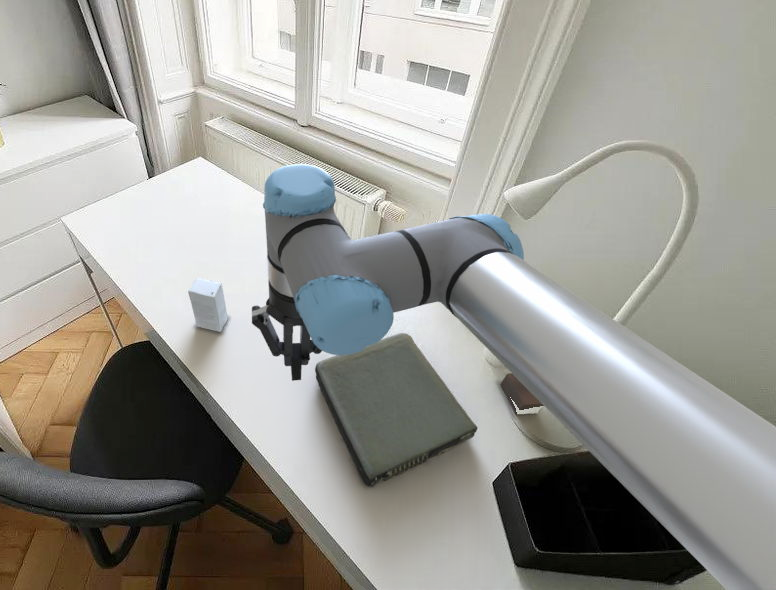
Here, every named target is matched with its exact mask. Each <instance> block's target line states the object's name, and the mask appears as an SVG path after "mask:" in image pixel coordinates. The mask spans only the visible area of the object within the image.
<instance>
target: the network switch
mask: <svg viewBox="0 0 776 590" xmlns="http://www.w3.org/2000/svg"><path fill="white" fill-rule="evenodd" d="M314 372H315V380H316V381H317V383H318V387H319V389H320V391H321V393H322V396H323V397H324V400H325V402H326V404H327V406H328V409H329V411H330V413H331V415H332V418H333V420H334V423H335V424H336V426H337V429H338V431H339V433H340V435H341V437H342V440H343V442H344V443H345V445H346V448H347V450H348V452H349V454H350V457H351V458H352V461H353V463H354V465H355V467H356V468H357V471H358V474H359V476H360V478H361V480H362V481H363V482H364V485H366V486H367V488H371V487H374V486H376V485H377V484H379V483H382V482H386V481H388V480H391V479H393V478H394V477H397V476H399V475H403V474H404V473H405V472H407V471H410V470H411V469H413V468H414V469H415V467H417V466H421V465H422V464H423V463H426V462H427V461H428V459H431V458H432V457H436V456H438V455H442V454H444V453H445V452H446V451H449V450H452V449H453V448H454V447H457V446H459V445H460V444H462V443H464V442H467V441H468V440H469V441H470V440H471V439H472V438H474V436H476V435H475V433H476V432H477V430H478V426H477V425H476V424H475V422H474V421H473V420H472V419H471V417H470V416H469V415H468V414H467V412H466V411H465V409H464V408H463V407H462V405H461V403H459V401H458V400H457V398H456V397H455V396H454V395H453V393H452V391H451V390H450V388H449V387H448V385H446V383H445V382H444V380H443V379H442V378H441V376H440V375H439V374H438V372H437V371H436V370H435V368H434V366H432V365H431V363H430V361H429V360H428V359H427V357H426V356H425V355H424V353H423V352H422V350H421V349H420V348H419V347H418V345H417V343H415V341H414V339H413V337H412V336H411V335H410V334H408V333H405V332H399V333H396V334H393V335H390V336H388V337H385V338H382V339H381V340H380V341H378V342H377V343H376V344H373V345H368V346H367V347H365V348H364V349H363V351H360V352H357V353H353V354H348V355H333V356H331V357H328V358H324V359H323V360H320V361H318V362H317V363H316V364H315V368H314Z"/></svg>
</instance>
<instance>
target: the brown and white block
mask: <svg viewBox="0 0 776 590" xmlns="http://www.w3.org/2000/svg"><path fill="white" fill-rule="evenodd" d="M500 386H501V388H502V391H503V392H504V394H505V396H506V398H507V400H508V403H509V404H510V406H511V408H512V410H513V412H514V414H515V416H518V415H517V412H516V408H515V406H514V404H513V402H512V400H513V401H514V402H515V404H516V405H517V407H518V408H519V410H524V409H529V408H533V407H540V406H544V405H543V404H542V403H541V402H540V401H539V400H538V399H537V398H536V397H535V396H534V395H533V394H532V393H531V392H530V391H529V390H528V389H527V388H526V387H525V386H524V385H523V384H522V383H521V382H520V381H519V380H518V379H517V378H516V377H515V376H514V375H513V374H512V373H511V372H508V373H506V374H505V376H504V378H503V379H502V381H501V383H500ZM510 397H511V398H510ZM511 399H512V400H511ZM544 407H545V406H544Z"/></svg>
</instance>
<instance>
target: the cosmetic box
mask: <svg viewBox="0 0 776 590" xmlns="http://www.w3.org/2000/svg"><path fill="white" fill-rule="evenodd" d="M187 293H188V297H189V300H190V304H191V309H192V313H193V316H194V320H195V324H196V327H198V328H202V329H207V330H209V331H214V332H219V333H222V331H223V329H224V327H225V325H226V322H227V320H228V318H229V317H228V310H227V306H226V300H225V299H226V298H225V295H224V293H225V292H224V289H223V283H222V282H221V281H214V280H210V279H205V278H201V277H195V280H194V281H193V283H192V284H191V286H190V287H189V289H188V290H187Z"/></svg>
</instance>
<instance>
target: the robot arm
mask: <svg viewBox="0 0 776 590" xmlns="http://www.w3.org/2000/svg"><path fill="white" fill-rule="evenodd" d="M335 188H336V186H335V182H334V179H333V177H332V176H331V175H330V174H329V172H327V171H326V170H325V169H323V168H321V167H319V166H316V165H313V164H307V163H295V164H291V165H284V166H281V167H279V168H277V169H275V170H273V172H271V173H270V174H269V175H268V177H267V178H266V180H265V183H264V197H263V203H262V208H263V209H264V218H265V220H264V221H265V238H266V264H267V265H266V266H267V277H268V280H267V281H268V298H267V300H266V302H265V305H264V306H262V307H261V306H259V305H253V306H251V324H252V325H253V326H254V327H255V328H257V329H258V330H259V331H260V333H261V335H262V337H263V339H264V341H265V343H266V345H267V347H268V349H269V350H270V353H271V355H272V356H273V357H280V356H281V355H282V356H283V363H284V366H285V367H290V372H291V373H290V374H291V381H292V382H293V381H302V368H303V367H302V366H308V365H309V362H310V361H311V357H310V356H311V355H310V354H311V353H313V354H314V355H315V354H316V355H320V354H321V353H322V352H324V353H326V354H329V355H333V356H336V355H348V354H353V353H357V352H360V351H363V349H364V348H365V347H367V346H368V345H373V344H376V343H377V342H378V341H380V340H382V339H384V337H385V336H386V335H387V334H388V333H389V331H390V330H391V328H392V327H393V323H394V319H395V317H394V313H398V312H402V311H406V310H409V309H414V308H417V307H421V306H424V305H429V304H433V303H440V304H442V305H443V306H444V307H445V308H446V309H447V310H448V311H449V312H450V313H451V314H452V315H453V316H454V317H455V318H456V319H457V320H458V321H460V323H461V324H463V326H465V328H466V329H467V330H468V331H469V332H470V333H471V334H472V335H473V336H474V337H475V338H476V339H477V340H478V341H479V342H480V343H481V344H482V345H483V346H484V347H485V348H486V349H487V350H488V351H489V352H490V353H491V354H492V355H493V356H494V357H495V358H496V359H497V360H498V361H499V362H500V363H502V365H503V367H505V368H506V369H507V370H508V371H509V373H512V374H513V375H514V376H515V377H516V378H517V379H518V380H519V381H520V382H521V383H522V384H523V385H524V386H525V387H526V388H527V389H528V390H529V391H530V392H531V393H532V394H533V395H534V396H535V397H536V398H537V399H538V400H539V401H540V402H541V403H542V404H543V405H544V408H546V409H547V410H548V411H549V412H550V413H551V415H552V416H554V417H555V419H556V420H558V421H559V422H560V424H562V426H563V427H564V428H565V429H567V430H568V431H569V433H571V435H572V436H573V437H574V438H575V439H576V440H577V441H578V442H579V443H580V444H581V445H582V446H583V447H584V448H585V449H586V450H587V451H588V452H589V453H590V454H591V455H592V456H593V457H594V458H595V459H596V460H597V461H598V462H599V463H600V464H601V465H602V466H603V467H604V468H605V469H606V470H607V471H608V472H609V473H610V474H611V475H612V476H613V477H614V478H615V479H616V480H617V481H618V482H619V483H620V484H621V485H622V486H623V487H624V489H626V490H627V491H628V492H629V493H630V494H631V495H632V496H633V497H634V498H635V499H636V500H637V501H638V502H639V503H640V504H641V505H642V506H643V507H644V508H645V509H646V510H647V511H648V512H649V513H650V515H652V516H653V517H654V518H655V519H656V521H658V523H660V524H661V525H662V526H663V527H664V528H665V530H667V532H669V534H670V535H672V537H673V538H674V539H676V541H678V542H679V544H680V545H682V546H683V548H685V550H687V552H688V553H690V555H691V556H693V558H694V559H695V560H697V562H698V563H699V564H701V565H702V567H704V569H705V570H706V571H707V572H708V573H709V574H710V575H711V576H712V577H713V578H714V579H715V580H716V581H717V582H718V583H719V584H720V585H721V586H722V587H723V588H724V589H725V590H776V425H774V424H773V423H772V422H769V421H768V420H767V419H765V418H764V417H762V416H761V415H759V414H758V413H756V412H754V410H752V409H750V408H748V407H747V406H745V405H744V404H742V403H741V402H739V401H738V400H736V399H735V398H733V397H732V396H730V395H729V394H727V393H726V392H724V391H723V390H721V389H720V388H718V387H716V386H715V385H714V384H712V383H710V382H709V381H708V380H706V379H704V378H703V377H702V376H700V375H698V374H697V373H695V372H694V371H692V370H691V369H689V368H688V367H686V366H685V365H683V364H682V363H680V361H677V360H676V359H674V358H673V357H671V356H669V355H668V354H666V352H664V351H662V350H660V349H659V348H657V347H656V346H655V345H653V344H651V343H650V342H648V341H647V340H645V339H644V338H642V336H641V337H640V336H639V335H638V334H636V333H635V332H633V331H632V330H630V329H629V328H627V327H626V326H624V325H623V324H621V323H620V322H618V321H616V320H615V319H613V318H612V317H610V316H609V315H608V314H606V313H605V312H602V311H601V310H600V309H598V308H597V307H595V306H594V305H592V304H591V303H590V302H588V301H586V300H585V299H583V298H582V297H580V296H579V295H577V294H575V293H574V292H572V291H571V290H570V289H568V288H567V287H565V286H563V285H562V284H560V283H559V282H557V281H556V280H554V279H553V278H551V277H550V276H548V275H547V274H545V273H544V272H542V271H541V270H539V269H538V268H536V267H535V266H533V265H532V264H530V263H529V262H527V261H526V260H525V253H524V248H523V244H522V241H521V239H520V237H519V235H518V234H516V233H515V232H514V231H513V230H512V229H511V224H510V223H508V221H506V220H504V219H503V217H502V218H501V217H500V216H497V215H494V214H490V213H480V214H479V213H478V214H471V215H456V216H452V217H450V218H448V219H444V220H440V221H435V222H430V223H426V224H422V225H417V226H413V227H409V228H404V229H399V230H395V231H390V232H385V233H380V234H375V235H370V236H366V237H361V238H356V239H352V238H351V237H350V236H349V234H348V233H347V231H346V229H345V227H344V226H343V225H342V223H341V222H340V220H339V218H338V217H337V215H336V212H335V208H334V207H335V204H336V202H337V196H336V191H335V190H336V189H335ZM271 318H272V319H274V320H275V321H276V322H278V323H279V324H281V325H282V332H283V333H282V334H283V335H282V336H283V337H282V339H283V341H281V340H280V337H279V336H278V333H277V331H276V329H275V327H274V324H273V322H272V320H271ZM297 326H298V327H300V329H299V330H300V331H299V333H300V334H299V342H294V343H293V340H294V337H293V336H294V335H293V334H294V327H297Z"/></svg>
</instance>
